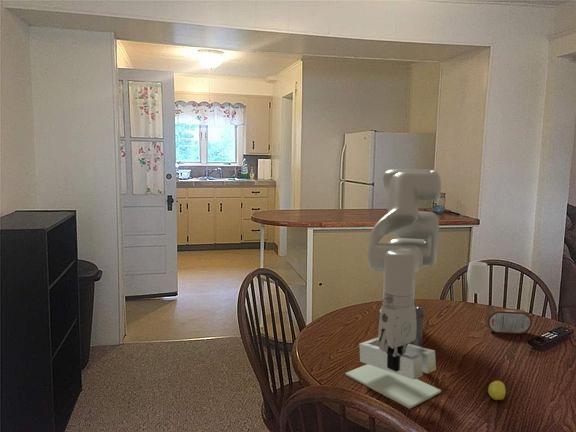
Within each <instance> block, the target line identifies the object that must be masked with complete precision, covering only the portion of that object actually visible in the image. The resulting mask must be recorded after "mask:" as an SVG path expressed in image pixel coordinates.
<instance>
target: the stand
mask: <svg viewBox="0 0 576 432" xmlns="http://www.w3.org/2000/svg"><path fill="white" fill-rule="evenodd" d="M415 310H416V325H417V330H416V339H415V340H414V341H412V342H413V344H412V345H416V346H420V347H423V327H424V316H425V314H426V312H425V308H423V307H422V306H415Z"/></svg>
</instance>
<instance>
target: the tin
mask: <svg viewBox="0 0 576 432" xmlns="http://www.w3.org/2000/svg"><path fill="white" fill-rule="evenodd" d="M484 322H485V325H486V326H487V327H488V329H490V331H491V332H493V333H496V334H508V335H509V334H510V335H523V334H526V333H528V332H529V331H530V329H531V328H532V325H533V320H532V317H531V316H530V315H529V313H528V312H527V311H525V310H523V309H520V308H519V309H517V308H516V309H515V308H497V307H496V308H493V309H491V310H489V311H488V312H487V314H486V315H485V320H484Z"/></svg>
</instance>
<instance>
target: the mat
mask: <svg viewBox="0 0 576 432" xmlns="http://www.w3.org/2000/svg"><path fill="white" fill-rule="evenodd" d="M345 376H347V377H349V378H351V379H353V380H354V381H357V382H358V383H360V384H362V385H364V386H365V387H367V388H370V389H372V390H373V391H375V392H377V393H379V394H381V395H383V396H385V397H387V398H389V399H390V400H392V401H394V402H396V403H398V404H400V405H402V406H403V407H405V408H407V409H409V410H411V409H412V408H414V407H416V406H417V405H418V406H419V405H420V404H422V403H424V402H425V401H427V400H429V399H431V398H433V397H435V396H437V395H439V394H441V393H442V390H441V389H440V388H437V387H435V386H432V385H431V384H428V383H426V382H424V381H422V380H419V378H417V379H415V380H413V379H410V378H407V377H404V376H401V375H398V374H396V373H393V372H390V371H387V370H384V369H381V368H378V367H375V366H372V365H369V364H364V365H361V366H360V367H357V368H355V369H352V370H349V371H347V372H345Z"/></svg>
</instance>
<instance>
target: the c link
mask: <svg viewBox="0 0 576 432" xmlns="http://www.w3.org/2000/svg"><path fill="white" fill-rule="evenodd" d="M358 345H359V346H358V347H359V360H360V361H359V362H361V363H363V364H365V365H367V364H369V365H372V366H375V367H378V368H381V369H384V370H387V371H390V372H393V373H396V374H398V375H401V376H404V377H407V378H410V379H413V380H415V379H419V378H421V377H423V376H424V373H425V374H430V373H432V372H434V371H436V370H437V368H436V367H437V365H436V350H434V349H431V348H427V347H423V346H422V347H420V346H416V345H413V344H412V343H409V344H408V345H407V347H406V352H405V354H401V353H398V352H397V356H398V357H399V363H398V371H397V372H395V371H393V370H391V369H389V368H387V354H386V352H385V351H382V350H380V349H379V347H380V342H379V338H378V336H377V337H374V338H372V339H370V340H369V339H368V340H366V341H363V342H361V343H358ZM390 347H391V346H390ZM391 348H392V347H391ZM392 349H393V348H392Z"/></svg>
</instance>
